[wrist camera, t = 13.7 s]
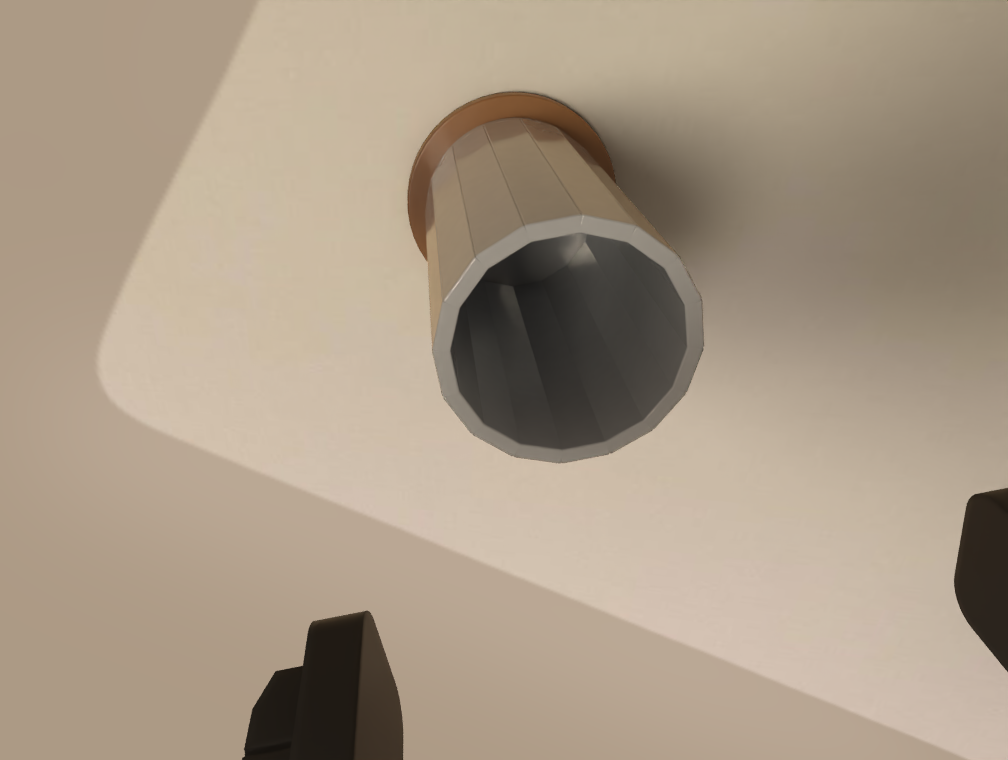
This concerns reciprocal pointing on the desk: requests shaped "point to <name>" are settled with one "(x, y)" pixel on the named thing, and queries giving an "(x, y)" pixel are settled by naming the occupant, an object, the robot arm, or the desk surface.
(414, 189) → the coaster
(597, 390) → the steel cup
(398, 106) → the desk surface
